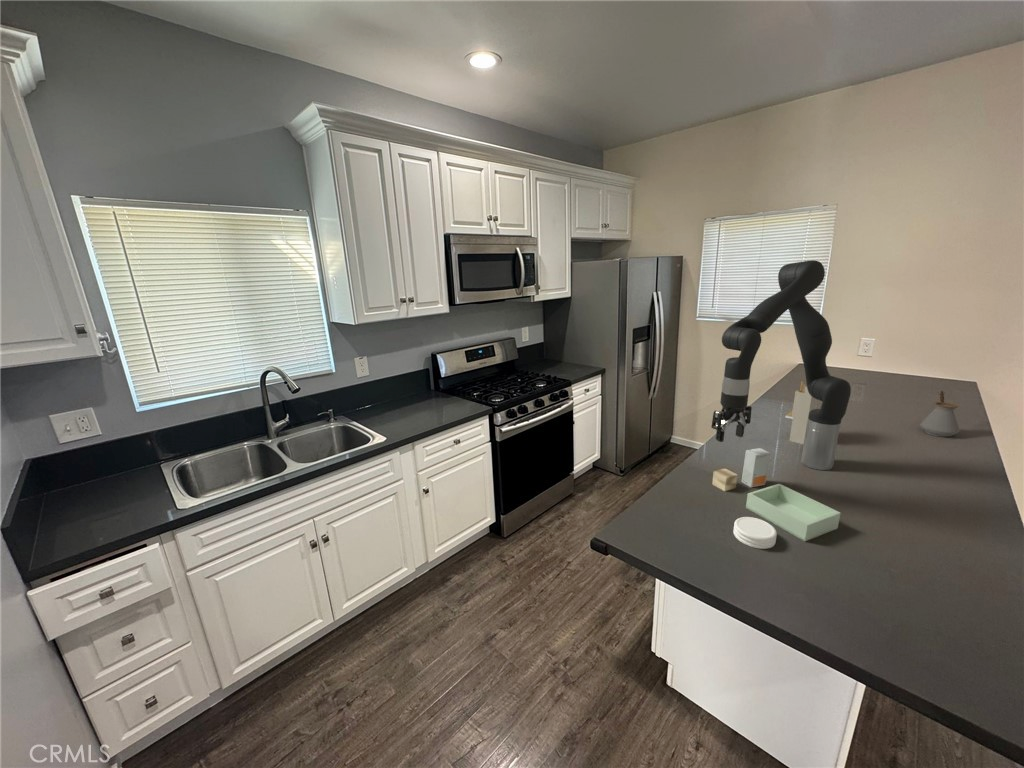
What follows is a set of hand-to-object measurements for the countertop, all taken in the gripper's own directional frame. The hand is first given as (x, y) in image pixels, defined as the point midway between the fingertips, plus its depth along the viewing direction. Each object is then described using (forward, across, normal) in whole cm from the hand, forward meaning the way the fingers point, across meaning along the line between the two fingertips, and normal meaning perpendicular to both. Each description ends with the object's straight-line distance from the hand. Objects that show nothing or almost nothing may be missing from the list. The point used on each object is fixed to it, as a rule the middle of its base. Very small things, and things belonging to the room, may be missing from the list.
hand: (729, 438), depth 132 cm
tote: (+17, -2, +21) cm, 27 cm away
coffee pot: (+17, -118, +4) cm, 119 cm away
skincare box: (+17, -10, +3) cm, 20 cm away
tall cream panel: (+18, -60, -15) cm, 64 cm away
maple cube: (+17, 0, 0) cm, 17 cm away
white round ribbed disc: (+18, +15, +23) cm, 33 cm away
